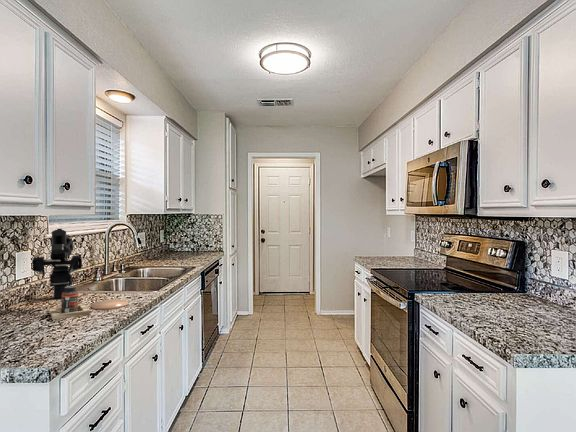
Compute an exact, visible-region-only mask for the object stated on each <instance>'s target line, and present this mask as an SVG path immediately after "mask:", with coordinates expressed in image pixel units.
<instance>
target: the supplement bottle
mask: <svg viewBox="0 0 576 432" xmlns="http://www.w3.org/2000/svg"><path fill="white" fill-rule="evenodd" d="M76 289H77V287H76V286H75V285H67V287H65V291H64V292H63V293H62V299H61V302H60V303H61V304H60V307H61V312H60V314H62V313H69V312H76V311H79V309H78V305H79V298H78V297H79V292H78V290H76Z"/></svg>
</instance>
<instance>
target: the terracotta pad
mask: <svg viewBox="0 0 576 432" xmlns="http://www.w3.org/2000/svg"><path fill="white" fill-rule="evenodd" d="M128 304H129V303H128V300H126V299H118V298H117V299H116V298H114V299H113V298H111V299H105V300H104V299H103V300H99V301H95V302H93V303H91V309H93V310H96V311H98V310H99V311H107V310H108V311H109V310H116V309H120V308H125V307H127V306H128Z"/></svg>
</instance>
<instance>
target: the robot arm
mask: <svg viewBox="0 0 576 432" xmlns="http://www.w3.org/2000/svg"><path fill="white" fill-rule="evenodd" d="M49 239H50V246H51V250H50V257H49V258H50V259H45V258H44V256H39V257H38V256H37V257H36V256H34V257H33V258H32V260H31V262H32V271H33V272H39V273H40V274H41V275H42V277H45V275H46V274H45V273H46V271H45V266H51V267H52V271H51V273H50V275H49V287H52V288H53V296H52V297H50V300H58V299H59V300H62V293H63V292H64V291H65V287H67V286H73V276H72V273H73V272H75V271H77V270H80V269H82V268H83V267H82V264H83V263H82V262H83V257H82V255H72V252H73V251H74V241H73V239H72V238H71V237H70V235H69V234H67V231H66V230H64V229H63V228H56V229H55V230H53V231H51V237H50V238H49ZM69 256H71V259H69V260H68V257H69Z"/></svg>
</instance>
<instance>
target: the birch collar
mask: <svg viewBox="0 0 576 432" xmlns="http://www.w3.org/2000/svg"><path fill="white" fill-rule="evenodd" d="M48 313H49V314H50V317H51V319H52V321H54V320H59V319H60V320H61V319H66V318H74V317H81V316H86V315H90V314H91V310H90V309H89V307H87V306H86V304H85V303H83V304H78V310H77V311H76V312H69V313H62V314H61V306H60V307H52V308H49V310H48Z"/></svg>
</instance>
